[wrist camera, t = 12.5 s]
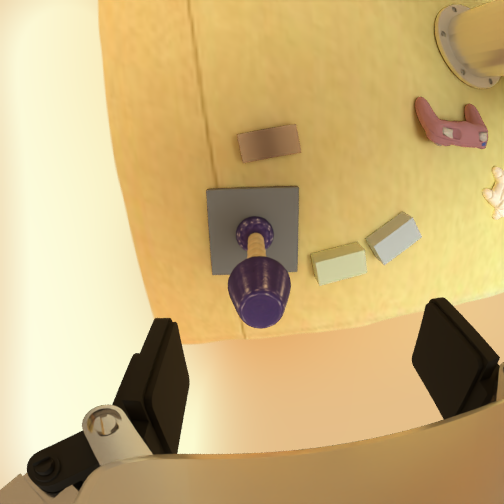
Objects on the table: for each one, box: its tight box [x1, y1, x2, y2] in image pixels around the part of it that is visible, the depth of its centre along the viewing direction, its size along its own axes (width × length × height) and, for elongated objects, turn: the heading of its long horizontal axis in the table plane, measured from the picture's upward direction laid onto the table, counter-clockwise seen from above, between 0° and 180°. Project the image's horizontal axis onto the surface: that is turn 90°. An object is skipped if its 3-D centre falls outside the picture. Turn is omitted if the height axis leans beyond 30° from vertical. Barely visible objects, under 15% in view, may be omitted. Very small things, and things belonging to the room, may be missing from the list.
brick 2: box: [311, 242, 367, 286], centre depth 37 cm, size 6×3×3 cm, turn 104°
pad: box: [206, 186, 299, 275], centre depth 36 cm, size 10×10×1 cm
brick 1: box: [237, 124, 301, 163], centre depth 32 cm, size 6×3×3 cm, turn 101°
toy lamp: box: [228, 216, 291, 328], centre depth 28 cm, size 5×5×17 cm
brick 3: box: [365, 212, 422, 265], centre depth 36 cm, size 6×3×3 cm, turn 127°
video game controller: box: [415, 97, 488, 149], centre depth 30 cm, size 10×5×7 cm, turn 96°
